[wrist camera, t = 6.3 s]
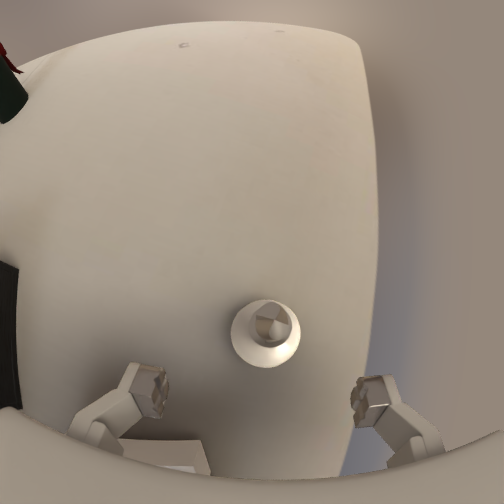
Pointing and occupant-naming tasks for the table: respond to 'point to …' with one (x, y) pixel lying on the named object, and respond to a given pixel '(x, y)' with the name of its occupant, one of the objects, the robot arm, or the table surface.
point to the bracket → (168, 454)
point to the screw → (265, 333)
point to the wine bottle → (10, 89)
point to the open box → (8, 338)
